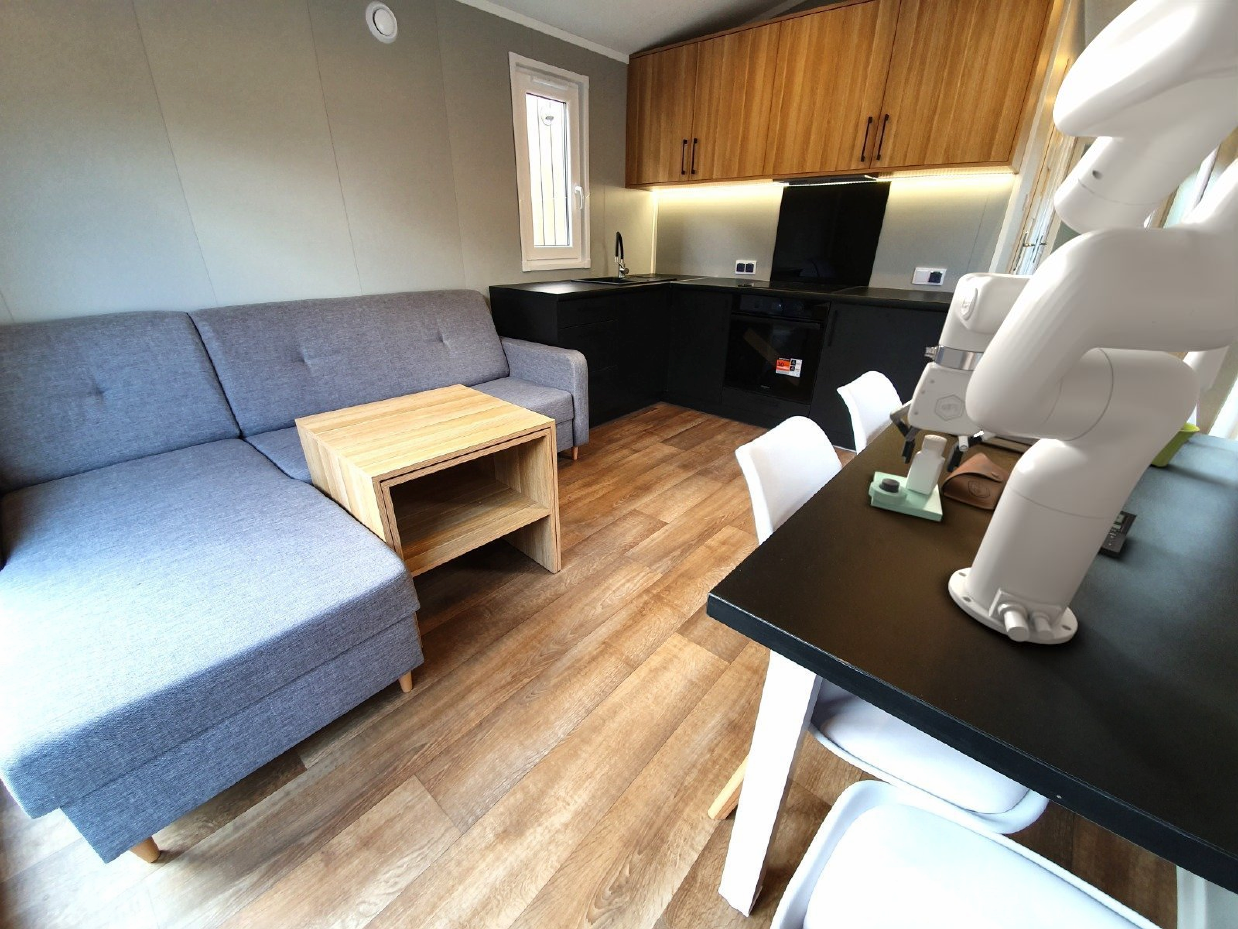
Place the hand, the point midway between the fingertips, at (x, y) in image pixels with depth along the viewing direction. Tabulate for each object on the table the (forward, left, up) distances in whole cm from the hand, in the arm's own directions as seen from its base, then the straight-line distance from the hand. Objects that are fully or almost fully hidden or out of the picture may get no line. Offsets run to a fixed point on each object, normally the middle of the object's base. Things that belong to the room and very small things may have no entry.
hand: (927, 464), depth 83 cm
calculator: (+1, -23, -6) cm, 24 cm away
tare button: (-6, +5, -4) cm, 9 cm away
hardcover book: (+47, -19, -6) cm, 51 cm away
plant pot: (+44, -44, -6) cm, 62 cm away
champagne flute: (+67, -54, -6) cm, 86 cm away
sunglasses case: (+10, -10, -6) cm, 16 cm away
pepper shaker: (0, 0, -5) cm, 5 cm away
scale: (-2, +2, -6) cm, 7 cm away
